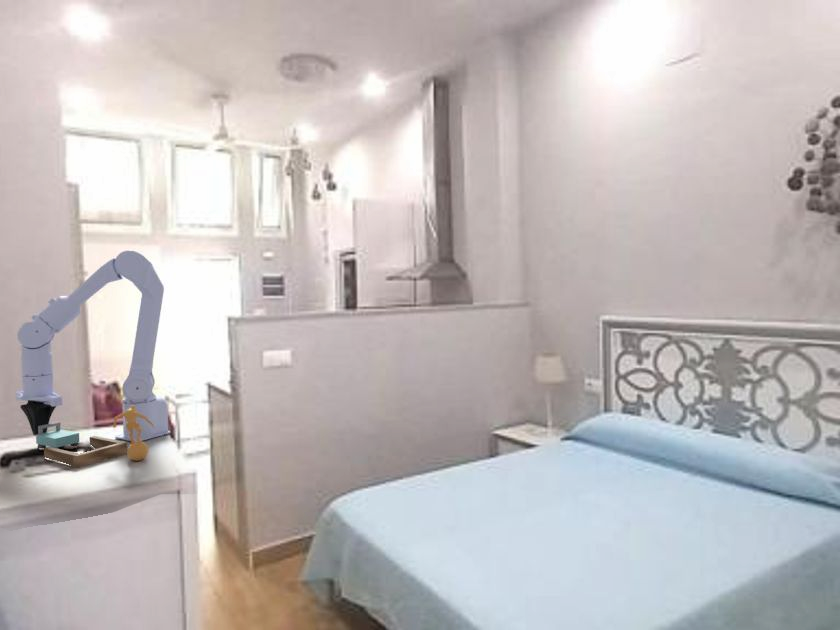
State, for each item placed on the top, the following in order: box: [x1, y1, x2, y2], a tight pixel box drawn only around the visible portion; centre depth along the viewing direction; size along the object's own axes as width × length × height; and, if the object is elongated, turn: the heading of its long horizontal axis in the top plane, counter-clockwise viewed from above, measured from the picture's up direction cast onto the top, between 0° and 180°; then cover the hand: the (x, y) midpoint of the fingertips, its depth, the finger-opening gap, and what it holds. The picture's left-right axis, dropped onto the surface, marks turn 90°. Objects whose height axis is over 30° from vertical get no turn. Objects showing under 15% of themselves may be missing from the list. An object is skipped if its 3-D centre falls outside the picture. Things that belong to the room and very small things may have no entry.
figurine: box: [112, 405, 154, 462], centre depth 118 cm, size 8×6×12 cm
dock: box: [43, 435, 128, 469], centre depth 122 cm, size 11×11×2 cm
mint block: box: [35, 421, 80, 449], centre depth 127 cm, size 5×7×5 cm
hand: (39, 434), depth 130 cm, fingers closed
